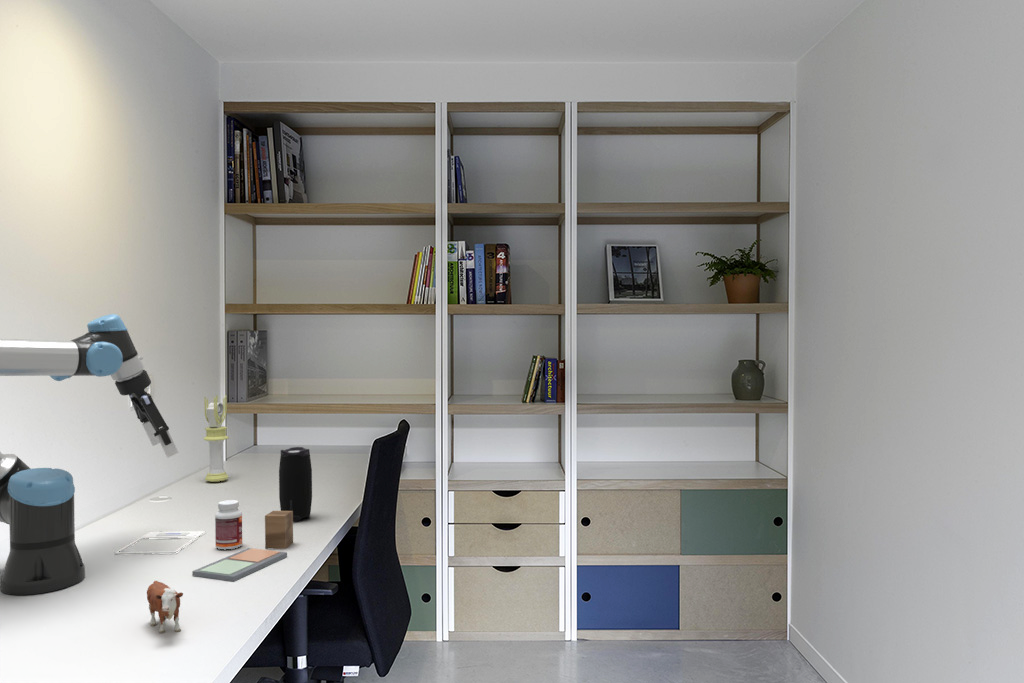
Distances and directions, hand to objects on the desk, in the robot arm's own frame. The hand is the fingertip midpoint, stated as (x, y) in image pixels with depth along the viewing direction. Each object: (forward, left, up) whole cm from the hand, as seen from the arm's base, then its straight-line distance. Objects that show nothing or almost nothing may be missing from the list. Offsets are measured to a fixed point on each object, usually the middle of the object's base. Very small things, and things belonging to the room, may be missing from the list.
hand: (165, 449), depth 193 cm
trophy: (+60, +38, -23) cm, 74 cm away
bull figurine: (-46, -45, -23) cm, 69 cm away
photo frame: (-5, -3, -23) cm, 24 cm away
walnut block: (+3, -32, -23) cm, 40 cm away
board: (-13, -34, -23) cm, 43 cm away
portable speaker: (+26, -20, -23) cm, 40 cm away
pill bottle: (-2, -21, -23) cm, 31 cm away
